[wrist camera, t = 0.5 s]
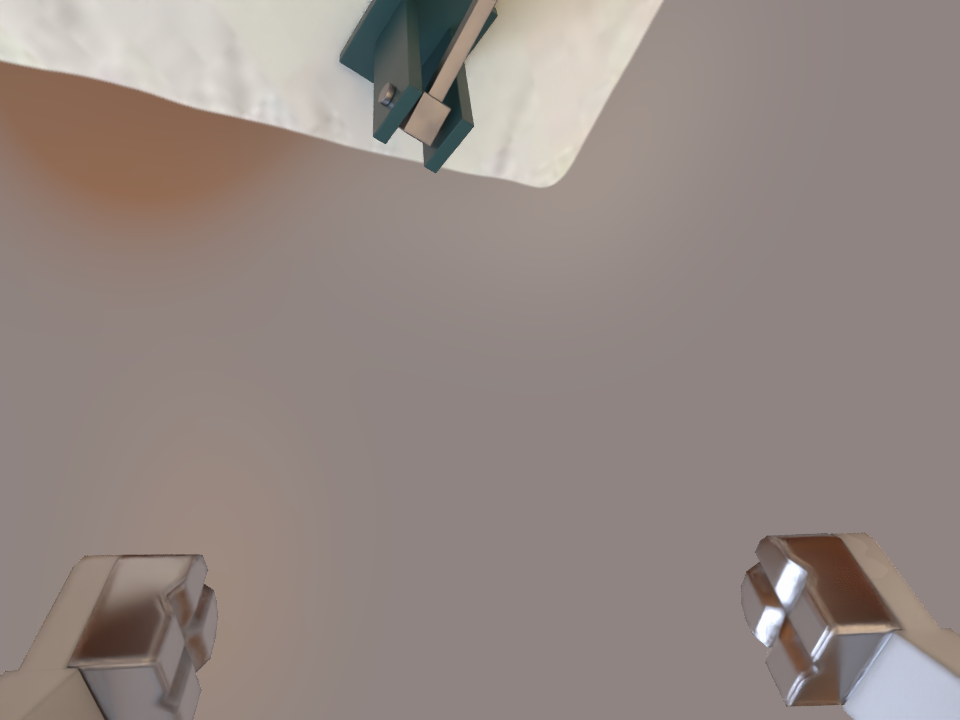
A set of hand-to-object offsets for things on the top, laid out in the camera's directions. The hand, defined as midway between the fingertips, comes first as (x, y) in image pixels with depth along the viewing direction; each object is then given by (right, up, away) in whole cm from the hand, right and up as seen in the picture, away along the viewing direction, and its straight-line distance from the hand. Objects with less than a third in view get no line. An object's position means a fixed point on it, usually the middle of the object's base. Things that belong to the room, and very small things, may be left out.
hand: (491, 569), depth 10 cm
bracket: (-5, +29, +41) cm, 50 cm away
